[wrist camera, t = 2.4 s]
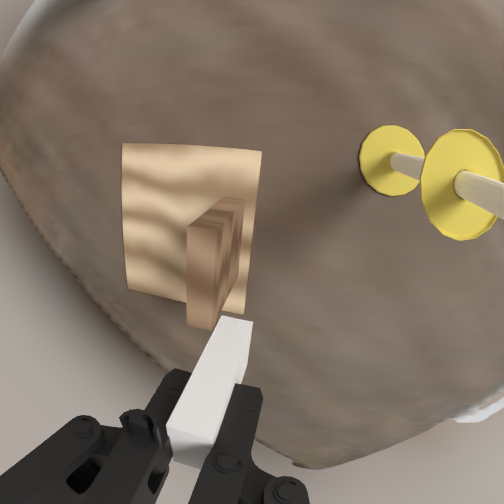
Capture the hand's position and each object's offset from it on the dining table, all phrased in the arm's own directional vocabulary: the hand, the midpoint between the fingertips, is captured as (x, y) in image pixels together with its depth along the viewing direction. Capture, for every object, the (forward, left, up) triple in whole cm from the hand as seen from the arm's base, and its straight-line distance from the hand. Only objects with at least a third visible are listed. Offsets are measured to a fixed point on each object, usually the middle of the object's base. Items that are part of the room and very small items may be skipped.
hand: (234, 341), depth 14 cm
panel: (+6, -7, -29) cm, 30 cm away
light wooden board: (+6, -15, -29) cm, 33 cm away
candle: (-9, +14, -29) cm, 34 cm away
